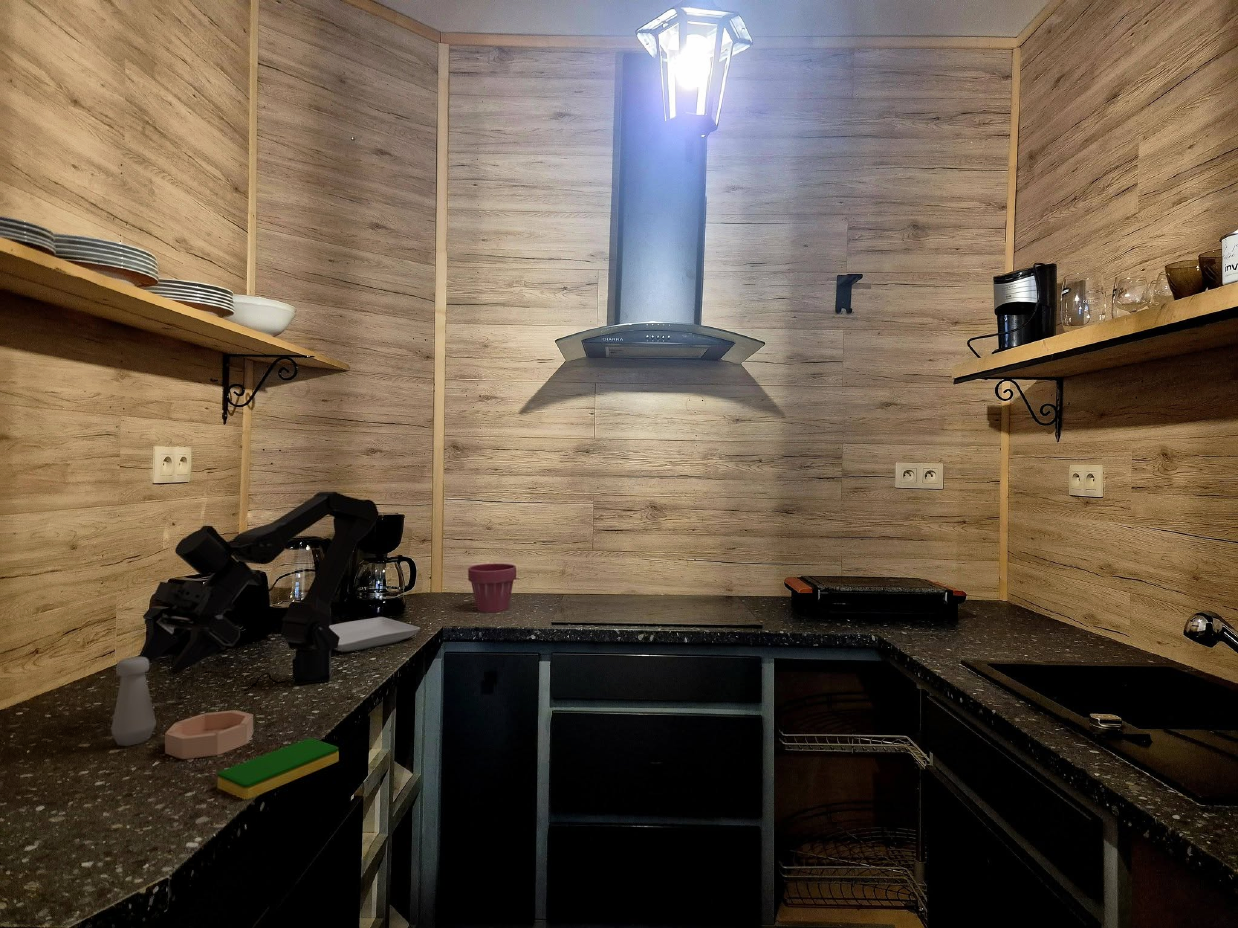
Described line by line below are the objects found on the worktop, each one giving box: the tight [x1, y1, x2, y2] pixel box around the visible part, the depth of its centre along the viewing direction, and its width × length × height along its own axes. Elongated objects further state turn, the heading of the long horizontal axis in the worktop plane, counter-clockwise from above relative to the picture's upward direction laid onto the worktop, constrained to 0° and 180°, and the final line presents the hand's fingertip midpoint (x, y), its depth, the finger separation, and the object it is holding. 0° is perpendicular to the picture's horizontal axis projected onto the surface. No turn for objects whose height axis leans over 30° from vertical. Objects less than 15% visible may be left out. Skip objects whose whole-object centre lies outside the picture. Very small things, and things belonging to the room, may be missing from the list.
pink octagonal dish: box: [164, 709, 254, 760], centre depth 107 cm, size 11×11×3 cm
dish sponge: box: [217, 737, 340, 801], centre depth 96 cm, size 7×14×2 cm, turn 147°
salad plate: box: [329, 616, 421, 653], centre depth 170 cm, size 21×21×3 cm
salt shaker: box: [110, 656, 157, 747], centre depth 109 cm, size 6×6×13 cm
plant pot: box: [467, 563, 517, 614], centre depth 205 cm, size 14×14×13 cm
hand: (154, 669), depth 112 cm, fingers open, 9 cm apart
